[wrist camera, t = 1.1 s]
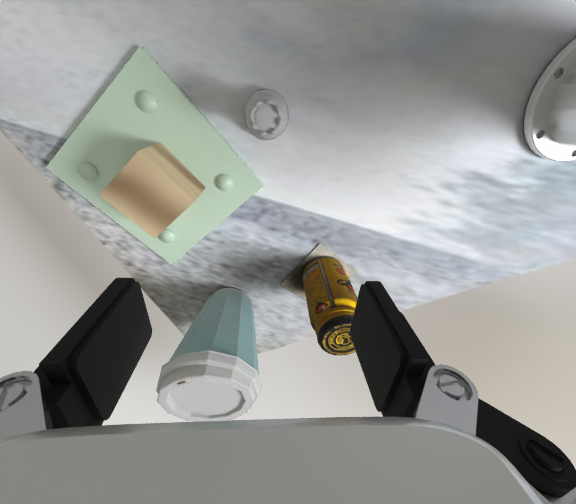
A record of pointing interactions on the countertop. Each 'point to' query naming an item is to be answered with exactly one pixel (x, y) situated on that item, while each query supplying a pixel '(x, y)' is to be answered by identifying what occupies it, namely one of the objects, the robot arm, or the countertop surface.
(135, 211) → the oak brick
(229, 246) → the countertop surface
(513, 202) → the countertop surface
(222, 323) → the disposable coffee cup
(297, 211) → the countertop surface
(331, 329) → the condiment
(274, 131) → the rook chess piece
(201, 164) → the build plate
